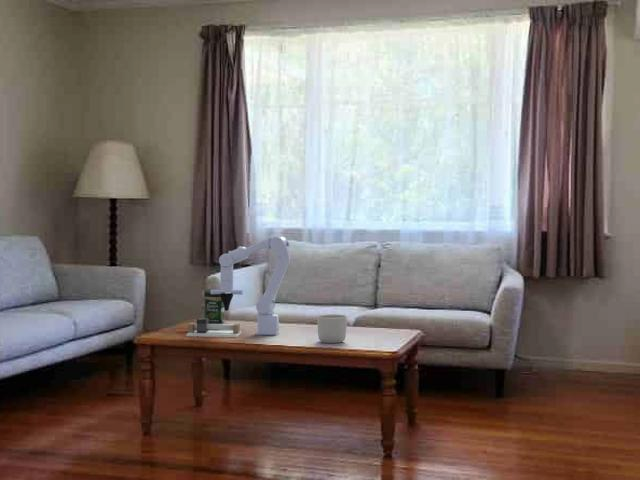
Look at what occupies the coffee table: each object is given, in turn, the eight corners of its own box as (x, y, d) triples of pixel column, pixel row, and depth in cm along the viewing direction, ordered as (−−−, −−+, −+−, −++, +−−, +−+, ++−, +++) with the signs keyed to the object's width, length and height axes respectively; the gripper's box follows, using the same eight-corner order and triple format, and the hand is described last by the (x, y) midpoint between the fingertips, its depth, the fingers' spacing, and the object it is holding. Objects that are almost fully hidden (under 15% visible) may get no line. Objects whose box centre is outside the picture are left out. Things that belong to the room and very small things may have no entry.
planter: (316, 339, 341) (316, 314, 341) (344, 339, 342) (345, 314, 341) (318, 344, 329) (318, 318, 328) (348, 344, 329) (348, 318, 329)
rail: (241, 333, 358) (241, 322, 357) (236, 337, 346) (236, 326, 345) (192, 332, 359) (192, 321, 359) (186, 336, 347) (186, 325, 347)
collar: (208, 330, 355) (208, 318, 355) (205, 332, 350) (205, 319, 350) (199, 330, 356) (199, 317, 355) (196, 332, 350) (196, 319, 350)
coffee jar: (201, 329, 369) (201, 289, 369) (208, 326, 377) (208, 287, 376) (220, 330, 367) (220, 289, 366) (227, 327, 374) (227, 288, 374)
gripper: (244, 279, 363) (244, 309, 363) (212, 279, 364) (212, 309, 364) (241, 281, 356) (241, 311, 356) (209, 280, 357) (209, 310, 357)
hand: (226, 310), depth 360 cm, fingers closed
